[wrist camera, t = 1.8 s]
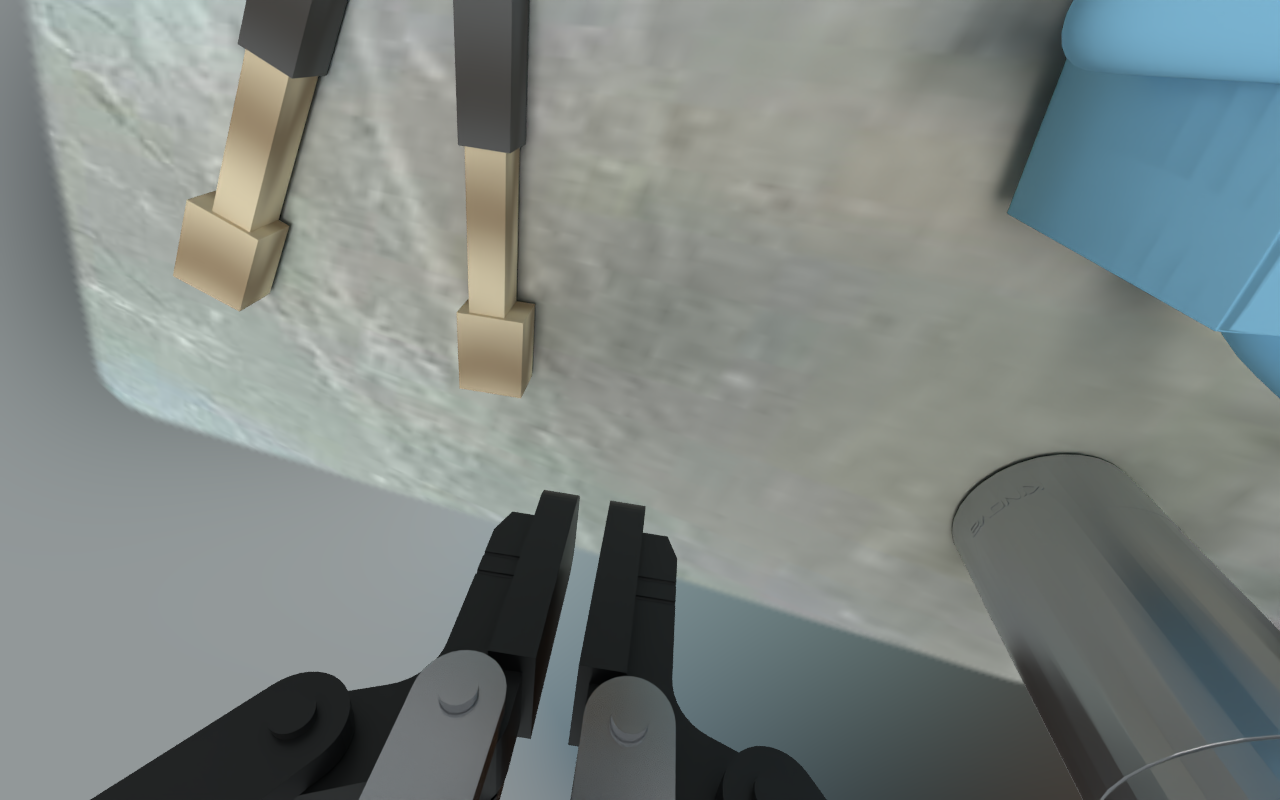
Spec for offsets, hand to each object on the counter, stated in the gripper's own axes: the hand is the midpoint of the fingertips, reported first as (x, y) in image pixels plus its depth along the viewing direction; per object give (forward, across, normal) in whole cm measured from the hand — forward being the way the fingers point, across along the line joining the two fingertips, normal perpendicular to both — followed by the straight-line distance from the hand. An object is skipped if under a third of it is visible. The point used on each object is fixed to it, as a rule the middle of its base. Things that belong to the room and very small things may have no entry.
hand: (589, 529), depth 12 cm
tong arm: (+17, +7, -2) cm, 18 cm away
